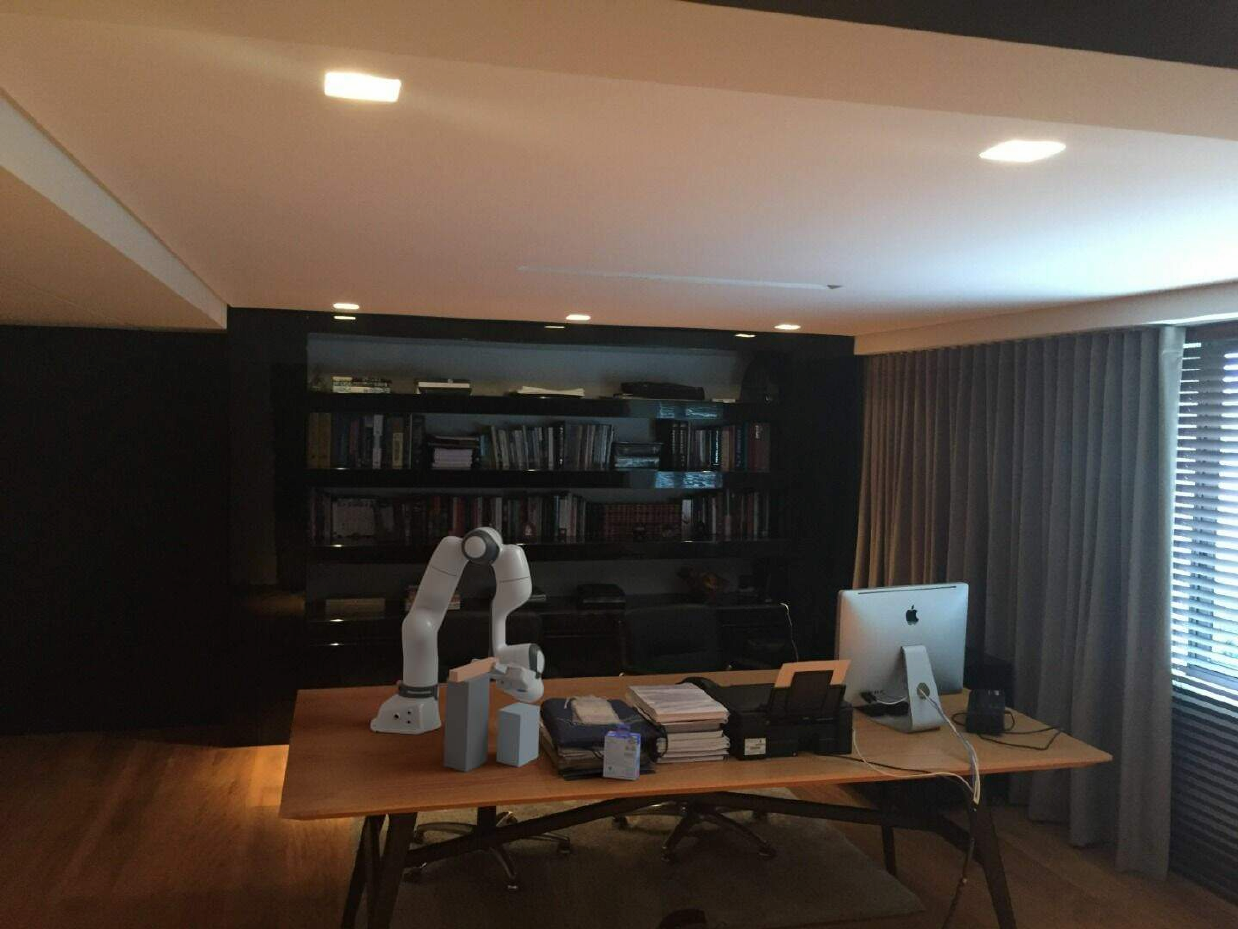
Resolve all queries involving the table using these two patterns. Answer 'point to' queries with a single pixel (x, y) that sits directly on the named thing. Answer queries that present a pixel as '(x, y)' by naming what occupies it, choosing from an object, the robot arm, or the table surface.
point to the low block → (518, 734)
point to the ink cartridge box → (622, 754)
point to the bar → (472, 669)
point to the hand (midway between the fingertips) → (487, 663)
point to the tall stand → (467, 723)
